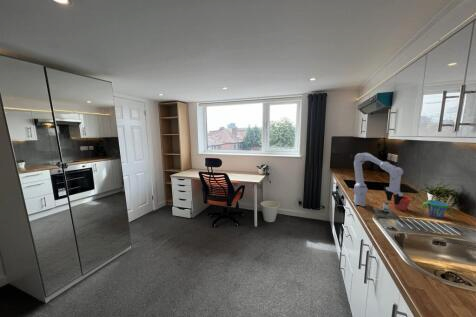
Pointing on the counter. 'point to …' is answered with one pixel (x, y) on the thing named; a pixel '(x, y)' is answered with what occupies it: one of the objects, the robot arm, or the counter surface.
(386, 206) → the column
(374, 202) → the counter surface
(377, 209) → the collar
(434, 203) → the snack cup
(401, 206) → the flower pot
